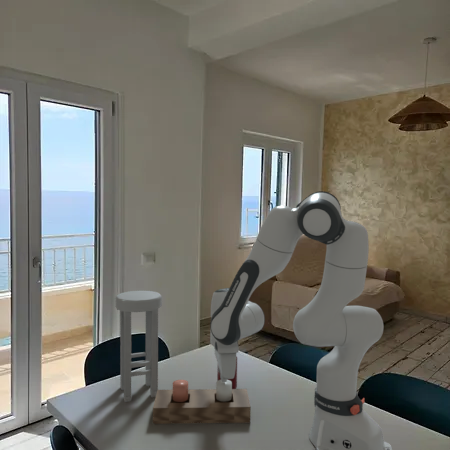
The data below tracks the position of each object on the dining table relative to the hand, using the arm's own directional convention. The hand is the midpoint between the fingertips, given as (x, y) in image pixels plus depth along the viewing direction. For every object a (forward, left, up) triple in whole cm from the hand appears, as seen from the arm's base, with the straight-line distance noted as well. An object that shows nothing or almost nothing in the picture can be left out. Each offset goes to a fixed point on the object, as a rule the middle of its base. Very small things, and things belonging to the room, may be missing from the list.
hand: (223, 380), depth 130 cm
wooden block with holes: (+5, +5, -11) cm, 13 cm away
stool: (+32, +9, -11) cm, 35 cm away
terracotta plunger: (+10, +9, -6) cm, 15 cm away
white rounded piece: (0, 0, -6) cm, 6 cm away
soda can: (+10, -14, -11) cm, 21 cm away
